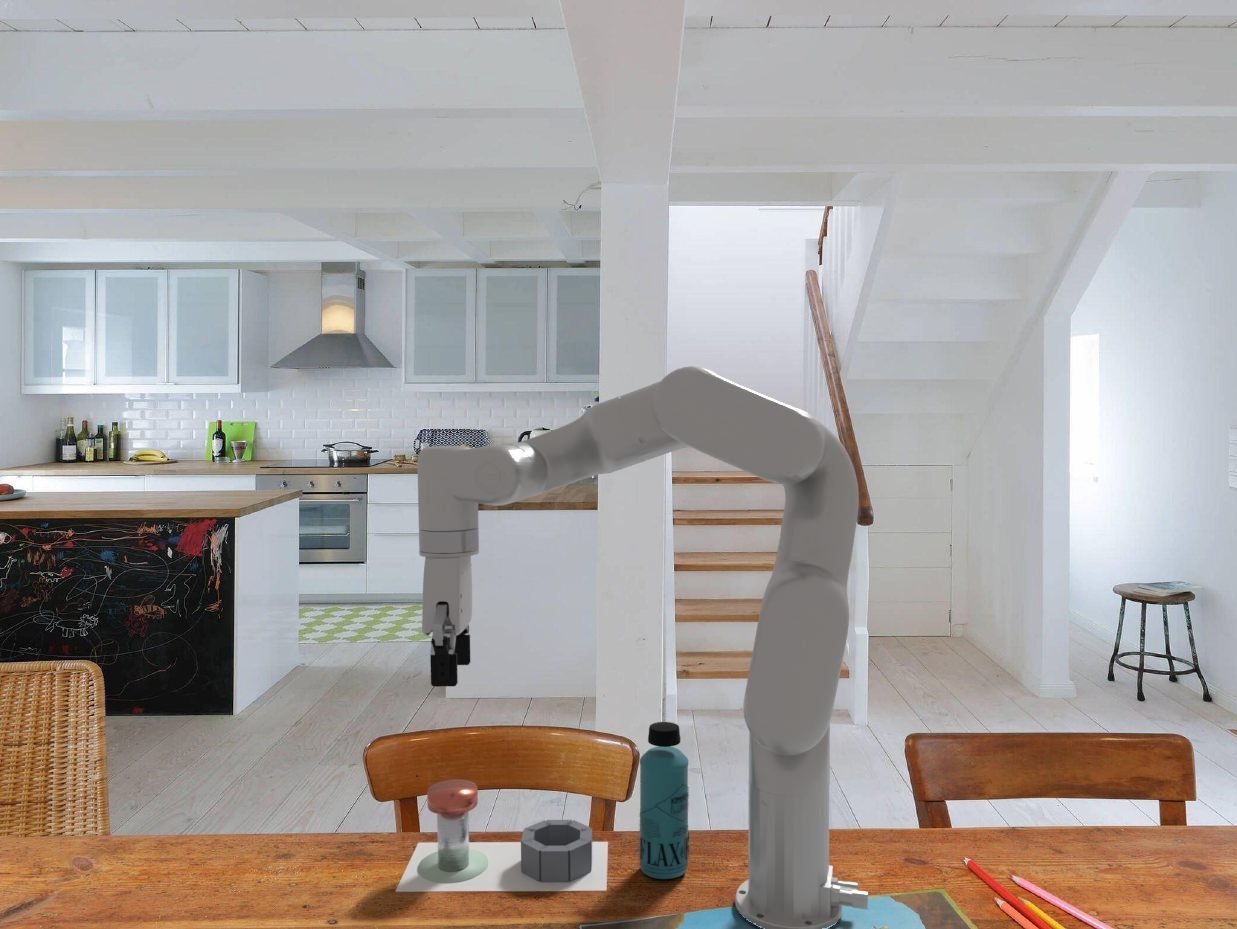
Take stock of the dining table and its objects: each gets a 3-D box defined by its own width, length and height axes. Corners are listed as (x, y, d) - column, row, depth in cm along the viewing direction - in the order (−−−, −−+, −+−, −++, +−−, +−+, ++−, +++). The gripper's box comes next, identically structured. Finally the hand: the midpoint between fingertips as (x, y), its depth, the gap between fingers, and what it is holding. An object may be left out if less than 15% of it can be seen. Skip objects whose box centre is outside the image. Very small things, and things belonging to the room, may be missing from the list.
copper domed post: (442, 850, 123) (441, 777, 123) (486, 856, 121) (485, 782, 121) (419, 873, 117) (418, 796, 117) (465, 879, 115) (464, 801, 115)
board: (608, 848, 126) (607, 813, 126) (606, 898, 113) (606, 858, 113) (418, 849, 126) (417, 814, 126) (395, 899, 113) (394, 859, 113)
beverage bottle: (629, 884, 116) (629, 729, 115) (652, 861, 122) (651, 713, 121) (676, 896, 113) (676, 737, 112) (697, 872, 119) (697, 721, 118)
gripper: (433, 534, 126) (435, 657, 127) (403, 552, 109) (406, 695, 110) (488, 533, 126) (490, 657, 127) (467, 552, 109) (469, 694, 110)
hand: (451, 674), depth 118 cm, fingers open, 9 cm apart
